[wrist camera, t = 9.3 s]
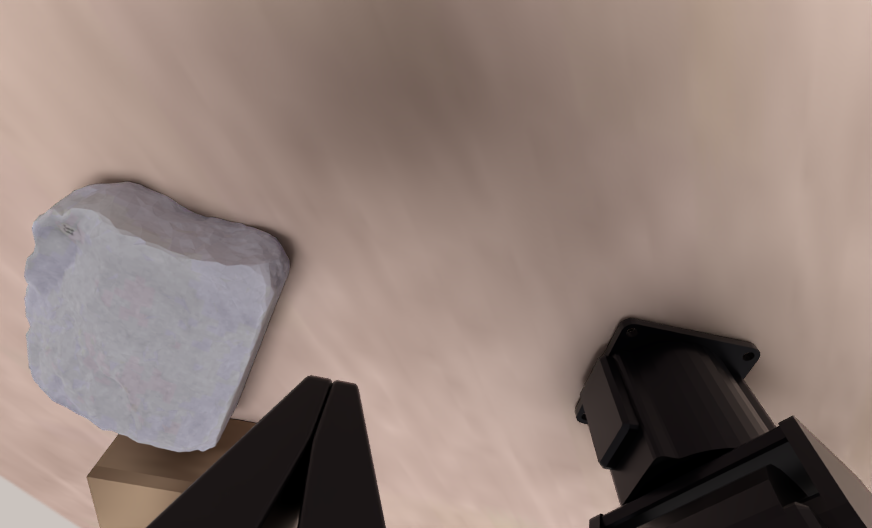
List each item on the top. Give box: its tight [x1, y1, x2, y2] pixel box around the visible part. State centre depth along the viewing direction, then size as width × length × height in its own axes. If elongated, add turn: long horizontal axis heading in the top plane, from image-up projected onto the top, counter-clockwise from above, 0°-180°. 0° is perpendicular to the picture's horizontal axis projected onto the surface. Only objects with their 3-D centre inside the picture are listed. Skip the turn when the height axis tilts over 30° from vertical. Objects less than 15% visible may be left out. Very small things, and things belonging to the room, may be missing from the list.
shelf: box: [87, 419, 257, 528], centre depth 28 cm, size 8×12×4 cm, turn 168°
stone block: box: [24, 181, 290, 452], centre depth 22 cm, size 12×5×10 cm
